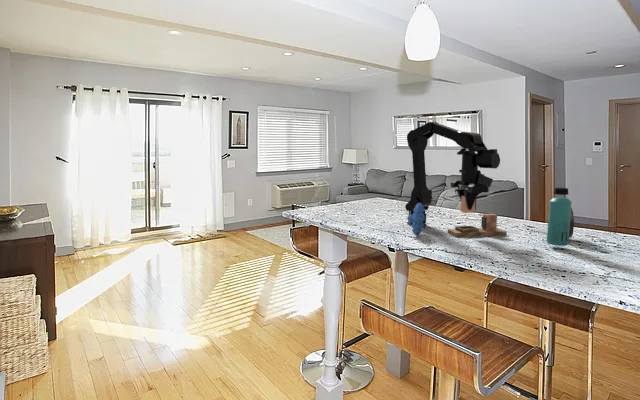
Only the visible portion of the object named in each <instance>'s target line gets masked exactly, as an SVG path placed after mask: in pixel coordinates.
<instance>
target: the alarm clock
mask: <svg viewBox="0 0 640 400" xmlns="http://www.w3.org/2000/svg"><path fill="white" fill-rule="evenodd" d="M563 198H568V195H563ZM574 218H575V217H574V210H573V207H571V217H570V229H569V231H570V237H569V238H572V237H573V236H574V230H575V229H574V227H575V226H574V225H575V219H574Z"/></svg>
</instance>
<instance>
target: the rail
mask: <svg viewBox="0 0 640 400" xmlns="http://www.w3.org/2000/svg"><path fill="white" fill-rule="evenodd" d="M497 223H498V215H497V214H494V213H482V216H481V225H480V226H481V227H479V228H478V227H476V226H474V225H455V226H454V228H447V234H448V233H449V235H450V234H451V236H452V235H453V237H454V236H455V238H464V237H465V238H467V237H469V238H471V237H472V238H473V236H474V237H500V236H502V237H505V236H507V233H508V232H507V230H503V229H500V228H497Z"/></svg>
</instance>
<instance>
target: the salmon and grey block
mask: <svg viewBox="0 0 640 400" xmlns="http://www.w3.org/2000/svg"><path fill="white" fill-rule="evenodd" d="M476 209H477V198H476V199H475V201H474V204H473V206H472V209H471V210H468V207H467V203H466V199H465V196H462V197H461V200H460V212H461V213H464V214H469V213H470V214H474V213H475V211H476Z"/></svg>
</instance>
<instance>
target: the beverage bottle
mask: <svg viewBox="0 0 640 400" xmlns="http://www.w3.org/2000/svg"><path fill="white" fill-rule="evenodd" d="M553 195H559V196H564V195H566V196H568V195H569V188H568V187H554V189H553ZM571 208H572V201H571V200H570V199H569V198H568V197H567V198H566V197H565V198H564V197H558V196H557V197H552V198H551V199H550V200H549V208H548V219H547V228H546V230H547V233H546V242H547V244H548V245H552V246H559V247H566V246H568V245H569V242H570V238H571V237H570V231H569V229H570V217H571Z"/></svg>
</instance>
